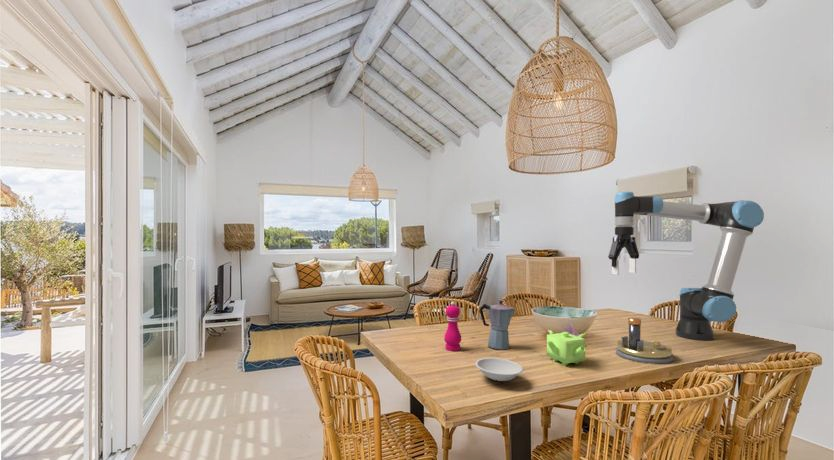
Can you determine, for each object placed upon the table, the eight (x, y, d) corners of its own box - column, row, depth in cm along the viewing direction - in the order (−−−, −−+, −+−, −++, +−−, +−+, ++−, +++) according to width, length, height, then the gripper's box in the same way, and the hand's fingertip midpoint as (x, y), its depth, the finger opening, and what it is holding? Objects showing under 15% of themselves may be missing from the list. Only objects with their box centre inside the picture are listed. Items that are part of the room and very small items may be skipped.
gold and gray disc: (606, 348, 168) (606, 333, 168) (637, 342, 176) (637, 328, 176) (651, 361, 151) (651, 345, 151) (682, 354, 159) (682, 339, 159)
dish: (466, 375, 142) (466, 360, 142) (500, 369, 148) (500, 355, 148) (495, 393, 126) (495, 377, 126) (533, 386, 131) (533, 370, 131)
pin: (626, 349, 160) (626, 318, 160) (631, 347, 163) (631, 317, 163) (637, 351, 156) (637, 320, 157) (643, 349, 159) (643, 318, 159)
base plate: (633, 346, 177) (633, 342, 177) (683, 358, 160) (683, 354, 160) (605, 353, 167) (605, 349, 167) (656, 367, 150) (656, 363, 150)
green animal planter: (547, 354, 166) (547, 326, 166) (585, 358, 161) (585, 329, 161) (544, 365, 152) (544, 335, 152) (585, 370, 147) (585, 339, 147)
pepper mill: (442, 350, 170) (442, 302, 170) (446, 345, 177) (446, 299, 177) (459, 352, 168) (459, 303, 168) (463, 347, 175) (463, 300, 175)
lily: (560, 352, 172) (571, 334, 169) (547, 335, 182) (558, 317, 179) (582, 358, 175) (594, 341, 172) (568, 341, 186) (579, 324, 183)
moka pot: (516, 351, 169) (516, 303, 169) (478, 349, 172) (478, 301, 172) (515, 345, 179) (515, 299, 179) (480, 343, 182) (480, 298, 182)
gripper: (615, 226, 174) (615, 275, 174) (647, 226, 188) (647, 272, 188) (599, 226, 181) (599, 274, 181) (631, 226, 194) (631, 271, 194)
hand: (624, 273), depth 184 cm, fingers open, 13 cm apart
